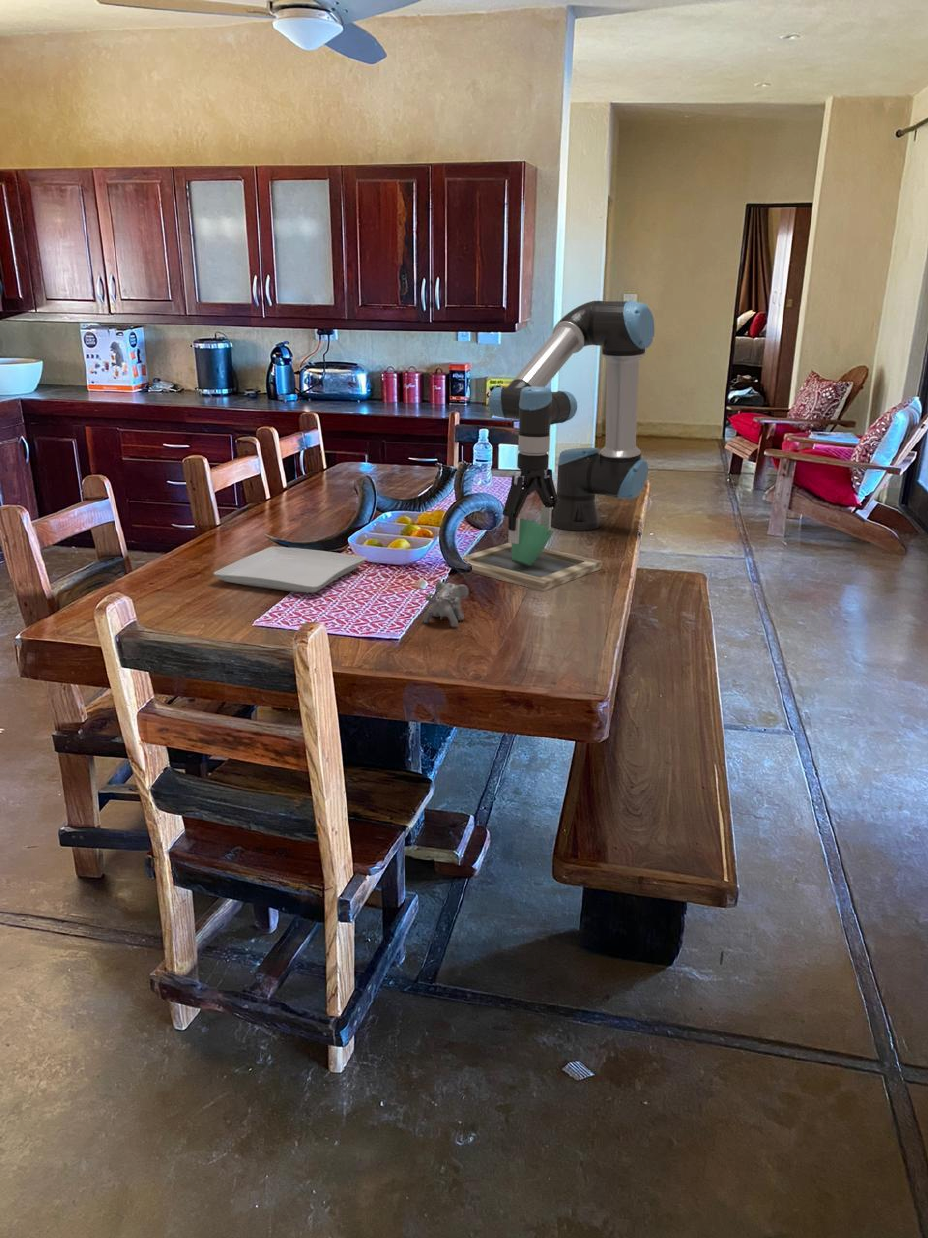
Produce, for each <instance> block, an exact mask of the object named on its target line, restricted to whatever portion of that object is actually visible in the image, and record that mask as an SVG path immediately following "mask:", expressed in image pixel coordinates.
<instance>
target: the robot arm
mask: <svg viewBox="0 0 928 1238" xmlns="http://www.w3.org/2000/svg"><path fill="white" fill-rule="evenodd" d="M653 337H655V320H654V315H653V313H652V310H651V308H649V306H648V305H647V304H646V303H644V302H637V301H632V300H628V301H627V300H614V301H613V300H607V301H606V300H592V301H588V302H585V303H583V304H581V305H578V306H577V307H575V308H574V309H572V310H571V311H570V312H568V313H566V314H565V315H564V316H563V317H562V318H561V319H560V320H559V321H558V322H557V323H556V324H555V325H554V327H553V329H552V334H551V336H550V337H549V338H548V339H547V340H546V341H545V343H544V344H543V345H542V346H541V347H540V349H539V350H538V351H537V352H536V353H535V354H534V356H532V358H531V359H530V360H529V361H528V362H527V363H526V365H525V366H524V367H523V368H522V369H521V370H520V372H518V374H517V375H516V376H515V377H514V378H513V380H512V381H511V382H510V383H509V385H508V386H506V387H505V386H499V387H498V386H497V387H494V388H493V389H492V390H491V392H490V393H489V396H488V400H487V401H488V408H489V412H490V413H491V414H492V415H493V416H494V417H498V418H502V419H503V418H504V419H511V420H518V443H517V445H518V446H517V450H518V451H519V453H518V454H517V465H516V466H517V468H518V469H519V470H520V475H512V476H511V483H510V487H509V491H508V494H507V496H506V497H507V498H506V499H505V500H506V501H505V504H504V507H503V510H502V515H503V516H504V517H507V518H508V519H507V525H508V527H507V529H508V536H507V537H508V538H507V540H508V541H507V543H509V542H510V543H515V544H519V529H520V519H521V517H519V514H520V512H521V510H522V508H523V507H524V504H525V502H526V500H527V498H528V496H529V495H531V493H532V492H535V491H536V493H537V496H538V497H539V499H540V501H541V502H542V505H543V506H540V523H539V524H541V525H544V526H546V527H548V531H547V533H548V532H549V531H550V529H551V530H552V528H551V527H553V528H555V529H561V530H566V531H576V532H579V531H582V532H583V531H591V530H595V529H598V528H599V527H600V518H599V517H600V516H599V513H598V509H597V505H596V495H599V496H605V497H611V498H612V497H613V498H617V499H619V500H620V499H621V500H622V499H623V500H624V499H627V500H633V499H636V498H637V497H638V496H639V495H640V494H641V492H643V489H644V487H645V485H646V482H647V478H648V473H649V465H648V461H647V460H645V459H644V458H642V457H641V456H642V451H641V449H640V448H639V447H638V446H637V423H638V421H637V420H638V400H639V399H638V397H639V370H640V366H639V365H640V359H641V358H643V357H644V356H645V354H646V349H648V348H650V346H651V345H652V343H653V340H654V339H653ZM588 346H600V347H601V355H602V356H603V358H605V359H606V361H607V362H606V364H607V367H606V401H605V403H606V404H605V405H606V409H605V442H604V443H605V445H604V447H602V448H601V449H600V450H599V448H598V447H576V448H568V449H565V450H563V451H561V452H560V453H559V456H558V464H557V476H556V477H557V479H556V486H555V483H554V479H553V470H552V469H551V468H549V457H550V456H549V454H548V453H549V451H550V438H551V437H550V436H551V434H550V431H551V425H556V424H564V423H565V422H568V421H569V420H572V419H573V418H574V417H575V416H576V414H577V412H578V401H577V399H576V397H575V395H574V394H573V393H571V392H569V391H565V390H557V391H552V389H551V388H550V387H547V385H548V384H550V382H551V380H553V378H554V377H555V376H556V374H558V372H560V370H561V368H563V366H564V365H565V364H566V362H568V361H569V359H570V358H571V357H572V356H573V354H576V353H578V352H580V351H581V350H582V349H584V348H585V347H588ZM555 487H556V488H555Z"/></svg>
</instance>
